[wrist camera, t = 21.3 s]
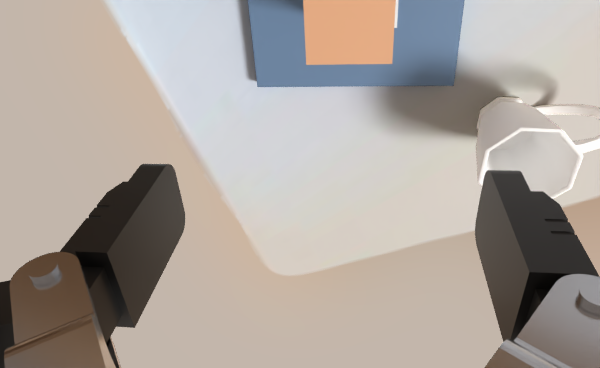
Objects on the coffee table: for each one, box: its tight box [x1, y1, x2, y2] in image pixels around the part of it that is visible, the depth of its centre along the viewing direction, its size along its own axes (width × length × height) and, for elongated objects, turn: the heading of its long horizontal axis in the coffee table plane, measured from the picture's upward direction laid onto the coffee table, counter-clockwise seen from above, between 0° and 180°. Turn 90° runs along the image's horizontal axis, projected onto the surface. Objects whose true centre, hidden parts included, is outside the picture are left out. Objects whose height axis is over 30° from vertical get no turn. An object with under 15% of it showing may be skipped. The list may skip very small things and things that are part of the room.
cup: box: [476, 97, 600, 199], centre depth 37 cm, size 7×10×8 cm
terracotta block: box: [303, 0, 396, 65], centre depth 29 cm, size 5×5×5 cm
